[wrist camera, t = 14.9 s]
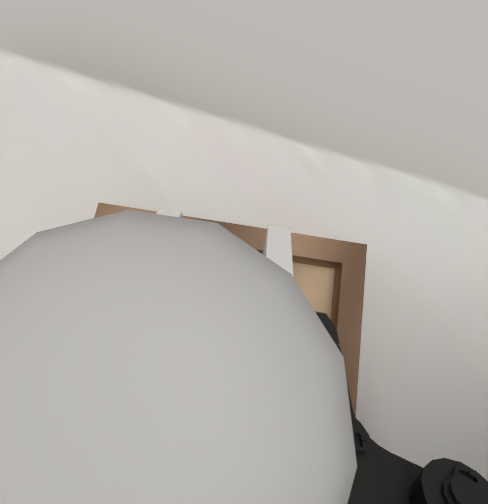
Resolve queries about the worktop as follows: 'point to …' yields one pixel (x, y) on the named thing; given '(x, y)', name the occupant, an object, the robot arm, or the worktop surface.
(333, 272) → the tray
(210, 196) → the worktop surface
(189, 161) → the worktop surface
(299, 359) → the salt shaker
